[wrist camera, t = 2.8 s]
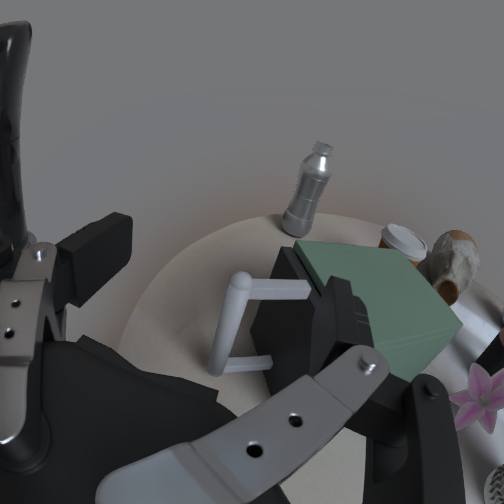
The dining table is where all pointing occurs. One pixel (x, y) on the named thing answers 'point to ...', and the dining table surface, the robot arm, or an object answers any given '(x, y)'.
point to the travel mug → (493, 355)
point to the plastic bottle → (308, 190)
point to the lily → (480, 399)
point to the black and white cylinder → (495, 487)
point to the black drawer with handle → (269, 323)
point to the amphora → (453, 264)
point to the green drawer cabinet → (387, 301)
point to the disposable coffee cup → (404, 243)
